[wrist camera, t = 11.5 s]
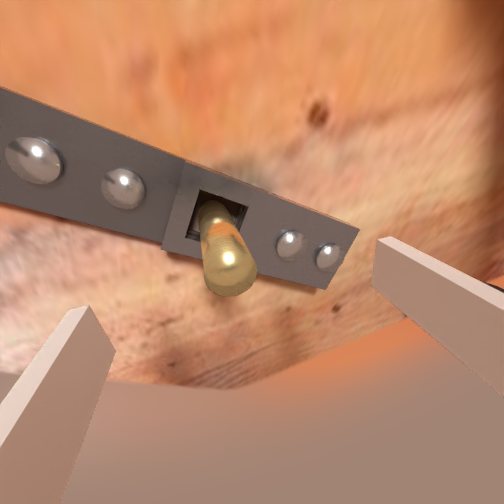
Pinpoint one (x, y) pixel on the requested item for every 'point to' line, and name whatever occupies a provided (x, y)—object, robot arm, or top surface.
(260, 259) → the chain end
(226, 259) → the pin
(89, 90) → the top surface
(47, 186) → the bar
